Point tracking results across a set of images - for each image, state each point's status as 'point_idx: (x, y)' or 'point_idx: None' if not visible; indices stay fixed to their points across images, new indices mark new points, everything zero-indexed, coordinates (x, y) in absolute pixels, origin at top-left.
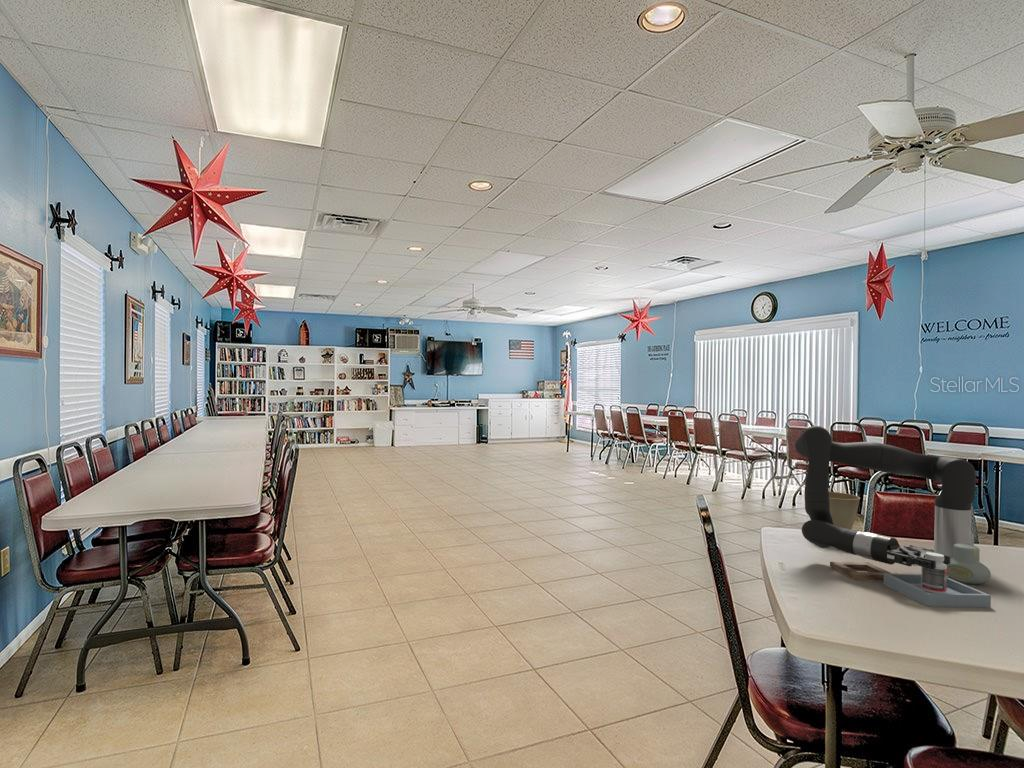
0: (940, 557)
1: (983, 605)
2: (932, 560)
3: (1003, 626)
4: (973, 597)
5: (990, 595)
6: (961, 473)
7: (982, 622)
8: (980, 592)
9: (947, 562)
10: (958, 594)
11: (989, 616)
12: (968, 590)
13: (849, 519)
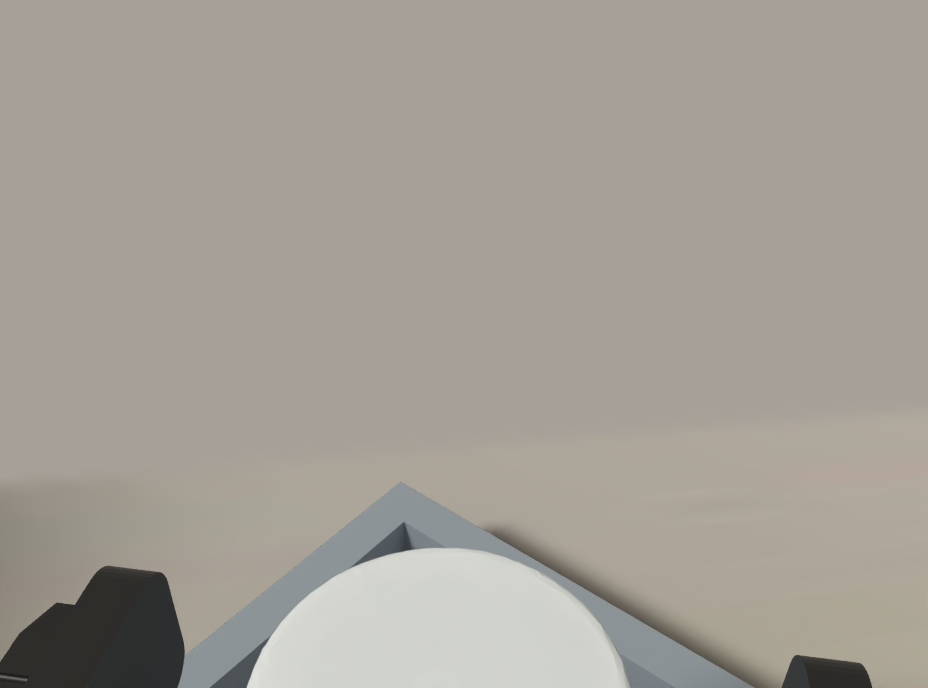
0: (552, 589)
1: None
2: (866, 683)
3: (818, 462)
4: None
5: (403, 484)
6: None
7: (898, 546)
8: (375, 543)
9: (170, 661)
10: (684, 658)
11: (680, 537)
12: None
13: None
